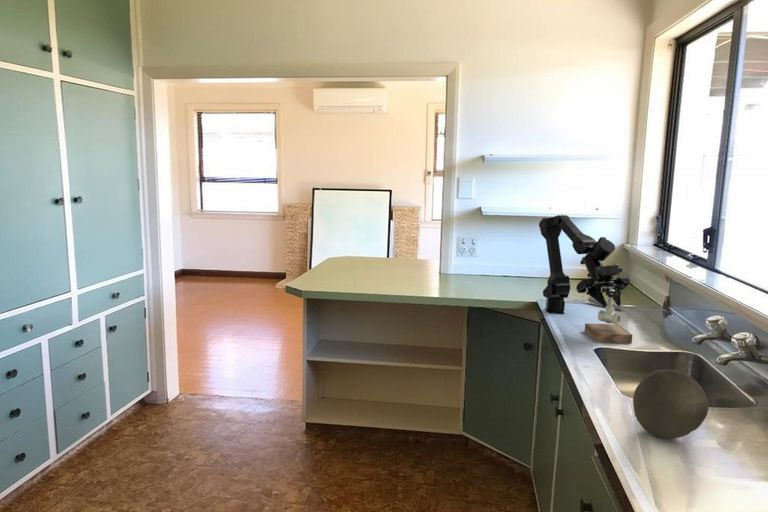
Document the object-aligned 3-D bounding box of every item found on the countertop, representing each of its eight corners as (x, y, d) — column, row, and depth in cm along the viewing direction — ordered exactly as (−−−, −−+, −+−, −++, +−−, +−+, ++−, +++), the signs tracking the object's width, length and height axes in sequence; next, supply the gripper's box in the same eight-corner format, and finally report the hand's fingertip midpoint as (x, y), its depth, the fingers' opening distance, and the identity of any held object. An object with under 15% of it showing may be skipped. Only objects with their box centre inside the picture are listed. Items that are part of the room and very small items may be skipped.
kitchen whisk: (623, 313, 220) (625, 298, 219) (551, 297, 245) (552, 284, 244) (630, 311, 224) (632, 296, 223) (559, 296, 249) (560, 282, 248)
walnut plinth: (595, 342, 182) (596, 333, 182) (584, 331, 194) (585, 323, 194) (631, 343, 182) (632, 334, 181) (618, 332, 194) (618, 324, 193)
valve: (614, 327, 183) (617, 293, 181) (595, 322, 187) (598, 289, 185) (621, 323, 187) (625, 289, 185) (602, 319, 192) (605, 286, 190)
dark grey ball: (641, 449, 113) (648, 381, 110) (623, 418, 127) (629, 358, 124) (713, 456, 110) (722, 388, 108) (687, 424, 124) (694, 363, 122)
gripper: (584, 256, 185) (601, 295, 176) (630, 254, 189) (649, 292, 181) (569, 273, 194) (584, 311, 185) (613, 272, 198) (630, 308, 190)
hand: (612, 305), depth 185 cm, fingers closed on valve, 5 cm apart
